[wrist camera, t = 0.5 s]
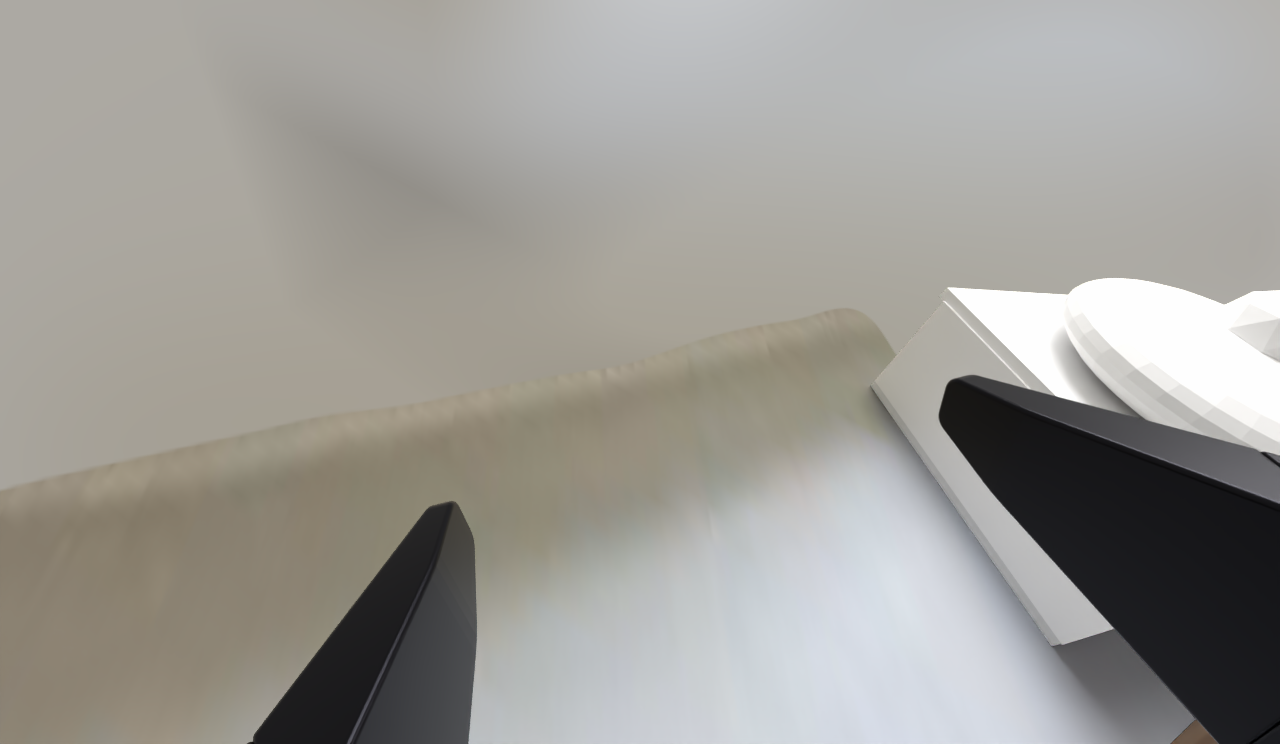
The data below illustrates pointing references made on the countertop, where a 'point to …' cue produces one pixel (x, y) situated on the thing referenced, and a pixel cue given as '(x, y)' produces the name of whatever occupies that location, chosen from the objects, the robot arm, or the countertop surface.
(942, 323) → the white lidded box
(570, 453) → the countertop surface
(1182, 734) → the walnut frame
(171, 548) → the countertop surface
